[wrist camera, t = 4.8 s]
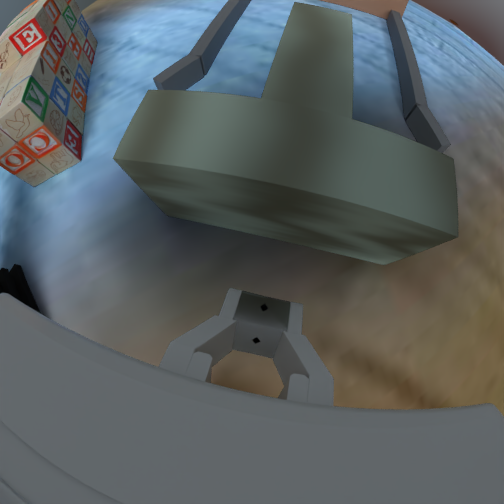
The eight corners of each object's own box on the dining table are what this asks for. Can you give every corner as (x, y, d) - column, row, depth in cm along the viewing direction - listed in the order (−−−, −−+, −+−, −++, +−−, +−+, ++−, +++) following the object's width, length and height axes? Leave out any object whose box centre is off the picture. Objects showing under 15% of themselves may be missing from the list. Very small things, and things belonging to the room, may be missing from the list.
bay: (403, 21, 23) (415, -7, 17) (436, 164, 18) (475, 128, 12) (239, -14, 25) (237, -44, 19) (158, 102, 20) (136, 53, 14)
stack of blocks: (84, 162, 19) (-5, 77, 7) (35, 189, 19) (-54, 130, 7) (98, 42, 23) (65, -21, 11) (60, 62, 23) (22, 7, 11)
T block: (388, 102, 20) (422, 41, 12) (384, 265, 17) (458, 237, 9) (226, 66, 21) (217, -4, 13) (167, 215, 18) (112, 158, 10)
